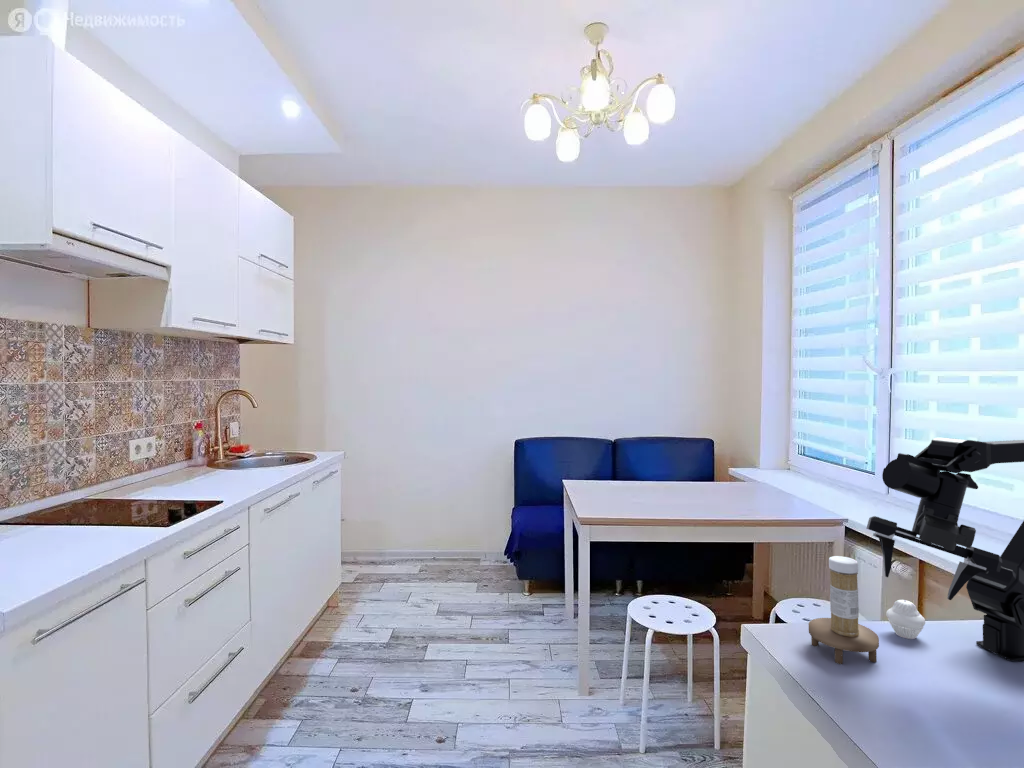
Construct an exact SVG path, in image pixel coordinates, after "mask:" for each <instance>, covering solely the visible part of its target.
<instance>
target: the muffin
mask: <svg viewBox="0 0 1024 768" xmlns="http://www.w3.org/2000/svg"><path fill="white" fill-rule="evenodd" d="M885 614H886V618H887V619H888V623H889V624H890V626H891V628H892V629H893V631H894V633H895V634H896V635H897V636H898V637H900V638H903V639H907V640H915V639H917V637H919V634H921V632H922V630H923V629H924V626H925V624H926V619H925V617H924V616H923V615H922V614H921V613H920V612H919V611H918V609H917V606H916V604H914V603H913V602H911V601H909V600H906V599H898V600H896V601H894V603H893V605H892V607H890V608H888V609H887V610H886V613H885Z"/></svg>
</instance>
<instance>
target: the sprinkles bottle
mask: <svg viewBox="0 0 1024 768" xmlns="http://www.w3.org/2000/svg"><path fill="white" fill-rule="evenodd" d="M828 568H829V576H830V577H829V578H830V579H829V580H830V582H829V583H830V585H829V593H830V595H829V604H830V618H831V629H832V631H834V632H835V633H837V634H840V635H843V636H847V637H855V636H858V635H859V630H858V624H859V617H860V614H859V610H860V609H859V607H860V606H859V588H858V574H859V573H858V572H859V562H858V561H857V560H856V559H854V558H851V557H848V556H841V555H833V556H830V557H829V558H828Z"/></svg>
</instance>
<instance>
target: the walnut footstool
mask: <svg viewBox="0 0 1024 768" xmlns="http://www.w3.org/2000/svg"><path fill="white" fill-rule="evenodd" d="M858 630H859V635H858V636H855V637H847V636H843V635H840V634H837V633H835V632H834V631H832V629H831V617H820V618H819V617H818V618H815V619H812V620H810V621H809V622H808V634H809V635H810V637H811V638H810V639H811V645H812V646H813V647H819V646H820V645H819V643H821V644H823V645H826V646H827V647H831V648H833V649H834V662H835V663H836V664H838V665H843V664H844V653H843V652H844V651H846V652H853V653H868V654H867V655H868V661H869V660H870V662H871V663H877V662H878V661H877V658H878V657H877V650H878V648H879V647H880V638H879V635H878V634H877V633H876V632H875V631H874V630H872V629H871V628H869V627H867V626H865V625H863V624H860V623H858Z"/></svg>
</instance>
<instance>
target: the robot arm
mask: <svg viewBox="0 0 1024 768" xmlns="http://www.w3.org/2000/svg"><path fill="white" fill-rule="evenodd" d="M1010 463H1011V464H1012V463H1024V439H1016V440H1015V439H1013V440H995V441H994V440H993V441H990V440H989V441H979V440H971V439H962V438H961V439H960V438H951V437H941V436H939V437H934V438H932V439H931V442H930V443H929V445H927V446H926V447H925V448H924V449H922V450H921V451H919V452H918V454H917V455H913V454H912V455H911V454H908V453H901V452H899V453H898V454H897V456H896V458H895V459H892V460H891V461H890V462H888V464H886V467H884V468H883V471H882V475H881V477H882V481H883V483H884V485H885V486H886V487H887V488H889V489H892V490H895V491H897V492H900V493H904V494H907V495H909V496H912V497H916V498H918V499H920V500H919V504H918V507H917V512H916V514H915V518H914V522H913V524H912V528H911V530H909V529H907V528H903V527H899V526H898V523H897V522H895V521H892V520H888V519H885V518H882V517H879V516H875V515H874V516H870V517H869V519H868V521H867V525H866V530H869V531H873V535H872V536H874V537H875V538H878V541H879V543H880V547H881V553H882V560H883V561H882V562H883V569H884V571H883V572H884V576H885V577H886V578H889V576H890V573H891V566H892V560H893V553H894V546H895V544H896V539H893V537H895V536H896V537H899V538H902V539H905V540H908V541H910V542H915V543H918V544H920V545H923V546H926V547H930V548H933V549H935V550H939V551H942V552H945V553H947V554H951V555H953V556H957V557H961V558H963V561H959V563H958V564H957V567H956V570H955V573H954V575H953V578H952V579H951V580H952V581H951V583H950V586H949V588H948V593H947V596H946V597H947V598H946V599H947V600H949V601H953V598H955V596H956V595H957V594H958V593H959V591H961V589H962V588H963V587H964V586H965V587H966V591H967V594H968V597H969V599H970V602H971V605H972V608H973V609H974V610H975V611H978V612H981V613H983V614H984V615H983V623H982V640H977V641H975V644H976V645H977V646H979V647H981V648H983V649H985V650H987V651H989V652H992V653H994V654H995V655H997V656H999V657H1001V658H1002V659H1005V660H1007V661H1010V662H1019V661H1024V520H1023V521H1022V522H1021V524H1020V525H1019V527H1018V529H1017V530H1016V532H1015V533H1014V535H1013V536H1012V537H1011V540H1010V541H1009V542H1008V544H1007V546H1006V547H1005V548H1004V550H1003V552H1001V555H1000V554H997V553H994V552H990V551H987V550H985V549H980V548H978V547H974V546H972V545H973V544H974V540H975V537H976V533H977V530H976V528H975V527H974V526H973V527H972V526H970V525H965V524H960V525H958V524H959V523H958V522H959V517H960V512H961V510H962V509H961V508H962V506H963V502H964V498H965V494H966V493H967V492H966V491H967V488H968V489H972V490H978V489H979V486H978V484H977V483H976V481H975V480H974V479H973V477H972V475H971V474H969V473H973V472H974V473H975V472H977V471H978V472H979V471H981V470H986V469H988V468H989V467H990V466H991V465H994V464H995V465H996V464H1010ZM963 472H965V473H963ZM918 536H919V537H918ZM965 584H966V585H965Z"/></svg>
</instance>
